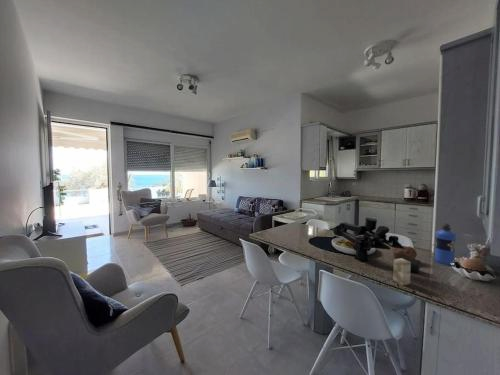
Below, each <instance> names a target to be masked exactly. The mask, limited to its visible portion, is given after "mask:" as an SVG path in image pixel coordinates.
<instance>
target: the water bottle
mask: <svg viewBox="0 0 500 375" xmlns="http://www.w3.org/2000/svg"><path fill="white" fill-rule="evenodd" d="M440 228H441V229H440V230H436V231H435V239H436V240H435V241H436V244H435V248H434V249H435V250H434V251H435V252H434V253H435V254H434V261H435V262H436V263H437V264H440V265H446V266H451V265H450V263H451V262H452V261H453V260H454V259H455V257H456V249H455V244H456V240H457V234H456V233H455V232H453V231H451V225H450V224H449V223H446V222H445V223H443V224H442V225H441V227H440Z"/></svg>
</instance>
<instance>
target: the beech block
mask: <svg viewBox="0 0 500 375" xmlns="http://www.w3.org/2000/svg"><path fill="white" fill-rule="evenodd" d="M410 269H411V262H410V261H407V260H405V259H402V258H399V259H395V258H394V259H393V274H392V275H393V276H392V277H393V278H392V280H393V282H395V283H396V284H399V285H400V286H408V285H411V271H410Z"/></svg>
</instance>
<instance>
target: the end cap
mask: <svg viewBox="0 0 500 375" xmlns="http://www.w3.org/2000/svg"><path fill="white" fill-rule="evenodd" d="M399 258H402V259H405V260H407V261H410V262H411V269H410V272H413V273H417V274H419V273H420V272H421V270H420V269H421V264H422V262H421V260H419V259H416V258H415V259H414V260H411V259H408V258H407V257H398V259H399Z"/></svg>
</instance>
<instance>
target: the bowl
mask: <svg viewBox="0 0 500 375" xmlns="http://www.w3.org/2000/svg"><path fill="white" fill-rule="evenodd" d="M355 236H356V237H358V238H359V237H360V235H355ZM331 245H332V247H334V249H336V250H337V251H338V252H341V253H344V254H347V255H353V256H356V250H354V248H353V246H354V245H355V244H354V243H353V242H351V241H349V240H347V239H346V238H344V237H342V236H340V237H336V238H333V239H332V240H331ZM376 250H377V248H371V249H370V251H367V254H368V256H369V255H372V254H374V253H375V251H376Z"/></svg>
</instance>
